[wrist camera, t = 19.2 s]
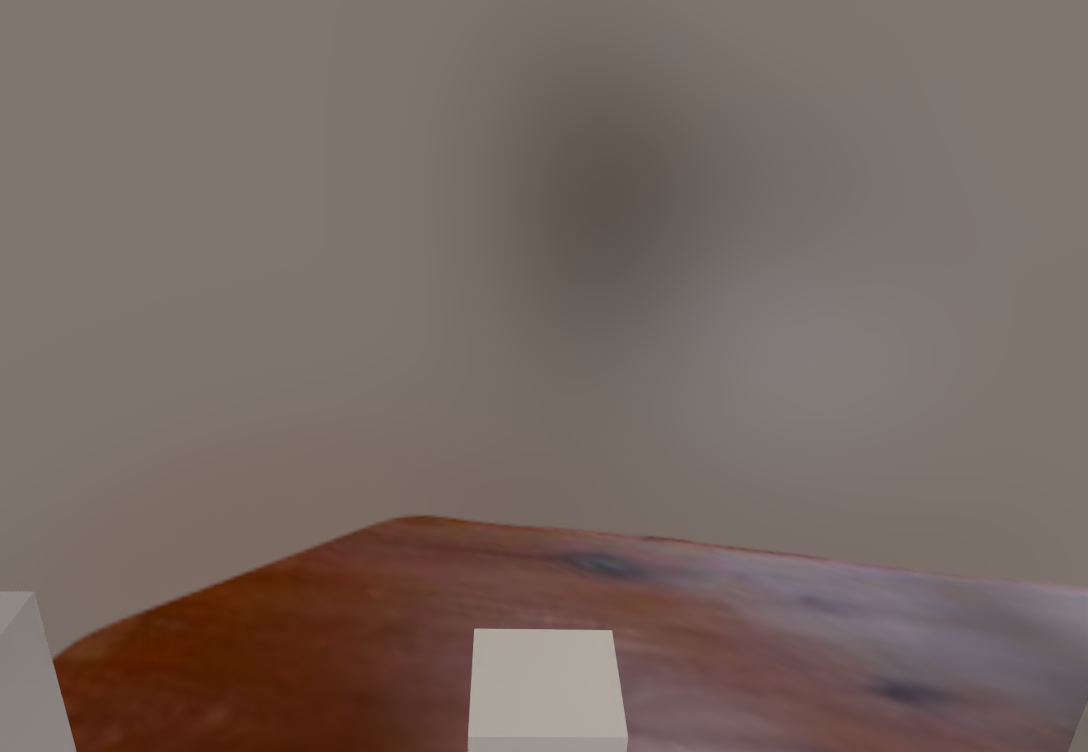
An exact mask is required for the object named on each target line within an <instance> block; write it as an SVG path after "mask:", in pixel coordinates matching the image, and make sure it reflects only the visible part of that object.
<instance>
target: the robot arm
mask: <svg viewBox="0 0 1088 752" xmlns="http://www.w3.org/2000/svg"><path fill="white" fill-rule="evenodd" d="M0 752H76V748H75V744H74V740H73V737H72V733H71V729H70V725H69V721H68V718H67V714H66V710H65V706H64V703H63V699H62V695H61V691H60V688H59V684H58V680H57V676H56V673H55V669H54V665H53V661H52V658H51V654H50V650H49V646H48V643H47V639H46V635H45V632H44V628H43V624H42V620H41V616H40V613H39V609H38V605H37V601H36V597H35V594H34V592H0ZM1068 752H1088V700H1087V703H1086V705H1085V708H1084V710H1083V713H1082V716H1081V718H1080V721H1079V724H1078V726H1077V729H1076V732H1075V734H1074V737H1073V740H1072V742H1071V745H1070V748H1069V750H1068Z"/></svg>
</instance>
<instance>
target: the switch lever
mask: <svg viewBox="0 0 1088 752" xmlns="http://www.w3.org/2000/svg"><path fill="white" fill-rule="evenodd" d="M627 744H628V733H627V727H626V720H625V714H624V707H623V700H622V694H621V687H620V681H619V674H618V668H617V661H616V654H615V648H614V641H613V635H612V630H540V629H474V644H473V661H472V678H471V695H470V712H469V729H468V752H627Z"/></svg>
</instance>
